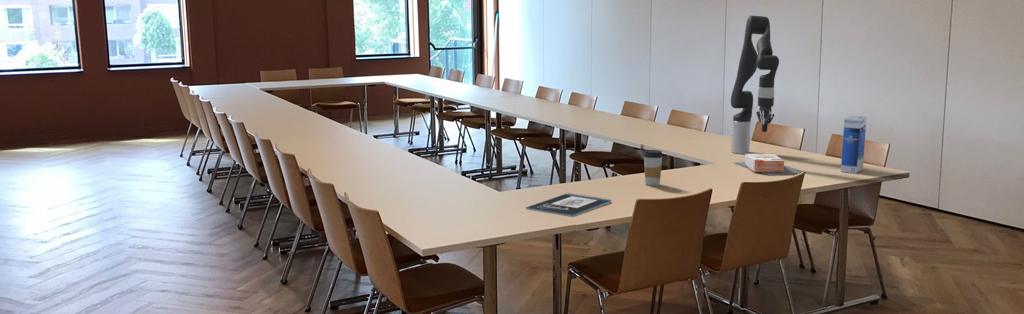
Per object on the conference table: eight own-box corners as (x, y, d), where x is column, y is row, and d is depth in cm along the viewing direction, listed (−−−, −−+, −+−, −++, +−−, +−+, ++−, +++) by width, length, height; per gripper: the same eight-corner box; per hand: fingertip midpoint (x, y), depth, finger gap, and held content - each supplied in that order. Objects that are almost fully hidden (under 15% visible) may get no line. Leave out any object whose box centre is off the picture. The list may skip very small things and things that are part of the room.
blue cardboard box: (847, 167, 424) (851, 115, 420) (863, 169, 420) (867, 116, 415) (840, 172, 414) (843, 118, 409) (856, 173, 409) (860, 119, 405)
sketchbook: (525, 210, 339) (525, 205, 339) (567, 197, 363) (567, 192, 363) (572, 218, 327) (572, 212, 326) (612, 203, 351) (612, 198, 350)
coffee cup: (657, 187, 379) (658, 153, 377) (639, 185, 384) (640, 151, 381) (664, 184, 386) (665, 150, 384) (647, 182, 390) (648, 149, 388)
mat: (734, 163, 436) (734, 162, 436) (769, 161, 441) (769, 160, 441) (768, 175, 405) (768, 174, 405) (806, 173, 410) (806, 172, 410)
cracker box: (773, 152, 429) (784, 160, 408) (772, 164, 430) (784, 172, 410) (744, 152, 430) (754, 160, 409) (744, 164, 431) (754, 172, 410)
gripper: (752, 95, 428) (750, 130, 431) (766, 98, 416) (764, 133, 418) (765, 95, 430) (763, 129, 433) (780, 97, 417) (778, 133, 420)
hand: (764, 131), depth 426 cm, fingers closed
